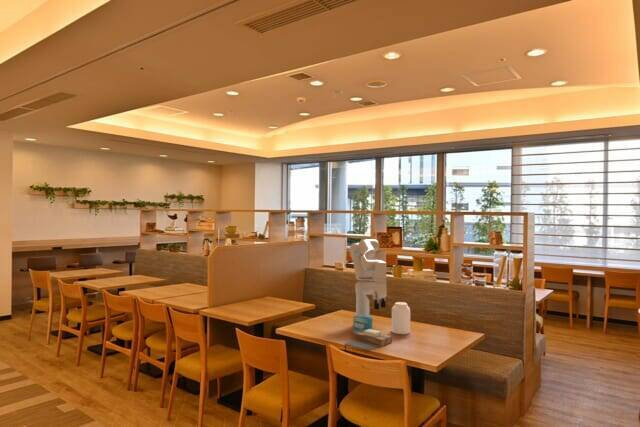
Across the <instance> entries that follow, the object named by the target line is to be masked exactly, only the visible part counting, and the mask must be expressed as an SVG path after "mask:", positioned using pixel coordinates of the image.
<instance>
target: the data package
mask: <svg viewBox="0 0 640 427" xmlns="http://www.w3.org/2000/svg"><path fill="white" fill-rule="evenodd" d="M352 322H353V326H352V328H353V331H352V332H353V334H355V333H358V332H361V331H364V330H367V329H372V330H373V317H372V316H371V315H369V316H364V315H356V314H355V315H354V316H353V321H352Z"/></svg>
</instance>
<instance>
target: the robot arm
mask: <svg viewBox="0 0 640 427" xmlns="http://www.w3.org/2000/svg"><path fill="white" fill-rule="evenodd" d="M379 249H380V243H379V241H378V240H377V239H373V238H372V239H369V238H366V239H361V240H360V241H359V242H354V243H351V244H350V246H349V255H350V258H351V260H352V262H353V268H354V274H355V278H356V280H358V281H357V282H356V283H355V285H354V286H355V287H354V289H355V296H356V297H355V301H356V302H355V316H356V315H364V316H370V299H369V297H368V296H369V295H372V298H371V299H372V300H373V305H374V309H375V310H380V307H381V308H385V309H386V306H387V298H388V293H387V292H388V290H387V262H386V261H384V260H382V259H374V257H376V252H378V251H379ZM367 295H368V296H367ZM379 302H380V303H379Z"/></svg>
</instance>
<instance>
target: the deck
mask: <svg viewBox="0 0 640 427" xmlns="http://www.w3.org/2000/svg"><path fill="white" fill-rule="evenodd" d="M364 331H365V330H364ZM364 331H361V332H358V333H354V340H360V341H364V342H368V343H372V344H376V345H380V346H379V347H383V346H386V345H388V344H391V343H393V336H392V335H390V334H386V333H383V332H381V336H378V337H372V336H368V335H364Z"/></svg>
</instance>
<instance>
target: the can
mask: <svg viewBox="0 0 640 427" xmlns="http://www.w3.org/2000/svg"><path fill="white" fill-rule="evenodd" d="M390 329H391V332H392V333H393V334H397V335H408V334H410V333H411V308H410V306H408V303H407V302H405V301H397V302H395V303H394V305H393V306H392V307H391V328H390Z"/></svg>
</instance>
